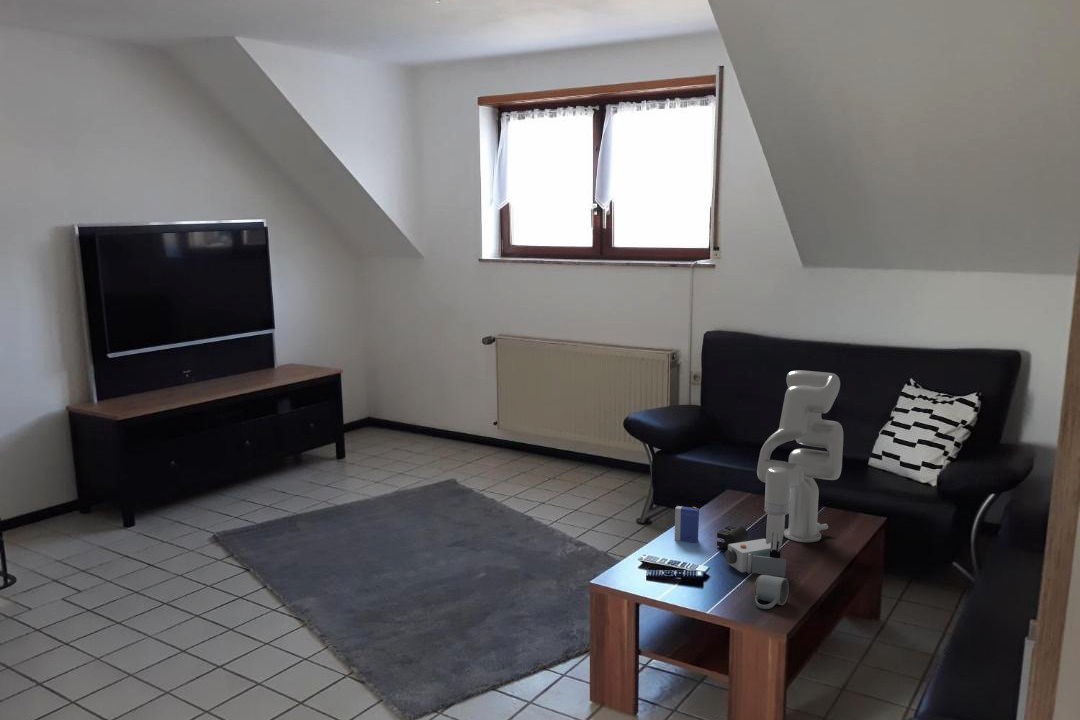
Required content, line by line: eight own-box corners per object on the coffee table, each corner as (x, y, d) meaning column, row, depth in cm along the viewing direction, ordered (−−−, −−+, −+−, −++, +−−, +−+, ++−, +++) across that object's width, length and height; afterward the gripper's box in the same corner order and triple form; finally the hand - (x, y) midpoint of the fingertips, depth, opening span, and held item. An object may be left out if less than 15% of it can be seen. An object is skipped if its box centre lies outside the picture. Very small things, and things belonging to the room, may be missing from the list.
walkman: (698, 540, 299) (699, 507, 297) (696, 543, 296) (697, 509, 294) (676, 537, 302) (676, 504, 300) (674, 540, 299) (674, 507, 297)
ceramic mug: (762, 592, 256) (762, 568, 255) (788, 599, 252) (789, 575, 250) (748, 606, 248) (749, 581, 246) (775, 613, 243) (776, 588, 242)
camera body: (763, 557, 284) (764, 536, 282) (778, 566, 276) (779, 545, 275) (723, 564, 278) (723, 543, 277) (737, 573, 271) (738, 552, 269)
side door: (785, 576, 268) (785, 558, 267) (784, 577, 267) (785, 559, 266) (747, 571, 272) (748, 553, 271) (747, 573, 270) (747, 555, 269)
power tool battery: (735, 555, 286) (736, 535, 285) (715, 550, 290) (716, 531, 289) (747, 546, 294) (748, 527, 293) (728, 541, 298) (729, 522, 297)
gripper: (766, 498, 276) (764, 552, 279) (762, 513, 262) (760, 570, 265) (790, 500, 274) (788, 555, 277) (788, 515, 260) (785, 573, 263)
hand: (774, 562), depth 271 cm, fingers closed
